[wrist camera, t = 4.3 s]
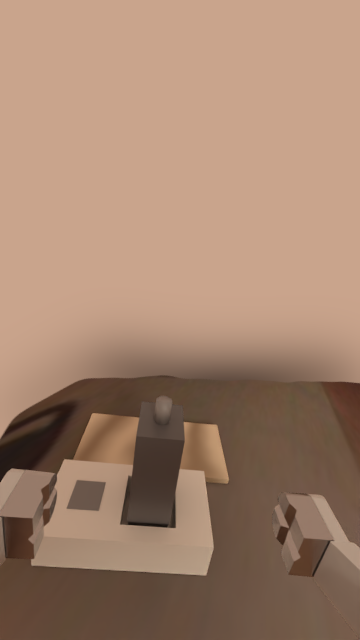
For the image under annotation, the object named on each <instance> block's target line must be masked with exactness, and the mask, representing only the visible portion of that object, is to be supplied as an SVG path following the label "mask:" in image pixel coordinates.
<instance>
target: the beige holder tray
mask: <svg viewBox="0 0 360 640" xmlns="http://www.w3.org/2000/svg"><path fill="white" fill-rule="evenodd" d="M132 470H133V465H126V464H114V463H102V462H90V461H78V460H66V459H64V461H63V463H62V466H61V468H60V470H59V472H58V474H57V482H56V484H55V488H56V490H57V499H56V504H55V508H54V511H53V514H52V517H51V519H50V522H49V523H48V524H46V525H45V526H44V537H43V539H42V541H41V544H40V546H39V549H38V551H37V553H36V556H35V558H34V559H31V565H32V566H48V567H66V568H83V569H101V570H119V571H136V572H154V573H172V574H189V575H206V574H207V571H208V567H209V563H210V560H211V556H212V552H213V548H214V545H213V537H212V529H211V521H210V514H209V506H208V498H207V490H206V482H205V474H204V471H197V470H185V469H180V470H179V476H178V481H177V486H176V492H175V497H174V503H173V508H172V514H171V519H170V525H169V524H168V526H167V528H164V527H150V526H135V525H128V522H127V516H128V507H129V498H130V489H131V479H132Z"/></svg>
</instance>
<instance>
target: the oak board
mask: <svg viewBox="0 0 360 640" xmlns="http://www.w3.org/2000/svg"><path fill="white" fill-rule="evenodd" d="M138 422H139V418H138V417H128V416H117V415H107V414H97V413H92V415H91V418H90V420H89V423H88V425H87V427H86V430H85V432H84V435H83V437H82V439H81V442H80V444H79V447H78V449H77V451H76V454H75V456H74V459H73V460H78V461H90V462H102V463H114V464H126V465H133V461H134V452H135V442H136V434H137V428H138ZM184 434H185V443H184V448H183V454H182V459H181V465H180V469H185V470H197V471H204V474H205V482H212V483H224V484H228V480H229V478H228V473H227V468H226V464H225V459H224V455H223V450H222V446H221V441H220V437H219V432H218V428H217V425H211V424H200V423H190V422H184Z"/></svg>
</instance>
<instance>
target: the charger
mask: <svg viewBox="0 0 360 640" xmlns="http://www.w3.org/2000/svg"><path fill="white" fill-rule="evenodd" d="M184 443H185V434H184V417H183V405H173V404H172V399H171V398H169V397H167V396H160V397H158V398H157V399H156V403H153V402H143V401H142V405H141V410H140V416H139V422H138V428H137V434H136V442H135V452H134V461H133V470H132V479H131V489H130V498H129V507H128V516H127V522H128V525H135V526H150V527H164V528H167V526H168V524H169V525H170V519H171V514H172V508H173V503H174V497H175V492H176V486H177V481H178V476H179V470H180V465H181V459H182V454H183V448H184Z"/></svg>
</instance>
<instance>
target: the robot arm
mask: <svg viewBox="0 0 360 640" xmlns="http://www.w3.org/2000/svg"><path fill="white" fill-rule="evenodd" d="M56 482H57V474H56V473H49V472H40V471H31V470H21V469H11V470H10V471H8V472H7V473H6V475H5V476H4V478H3V479H2V481H1V482H0V565H1V564H2V563H3V562H4V561H5V560H6V558H17V559H34V558H35V556H36V553H37V551H38V549H39V546H40V544H41V541H42V539H43V537H44V526H45V525H46V524H48V523H49V522H50V519H51V517H52V514H53V511H54V508H55V504H56V499H57V490H56V488H55V484H56ZM278 502H279V505H277V506H276V507H275V508H274V511H273V514H272V524H273V530H274V533H275V536H276V538H277V540H278V541H279V542H280V543H281V544H282V545H283V546H282V550H281V554H282V557H283V560H284V563H285V566H286V569H287V572H288V575H296V576H307V577H313V580H314V581H315V582H316V584H317V585H318V586H319V588H320V589H321V590H322V591H323V593H324V594H325V595H326V597H327V598H328V599H329V601H330V602H331V603H332V604H333V606H334V607H335V608H336V610H337V611H338V612H339V614H340V615H341V616H342V617H343V619H344V620H345V621H346V623H347V624H348V625H349V626H350V628H351V629H352V630H353V632H354V633H355V634H356V636H357V637H358V638H359V639H360V548H359V547H358V546H357V545H356V544H354V543H351V542H349V540H348V539H347V537H346V535H345V533H344V532H343V530H342V528H341V526H340V525H339V523H338V521H337V519H336V517H335V516H334V514H333V512H332V510H331V509H330V507H329V505H328V503H327V501H326V500H325V498H324V497H323V496H322V495H313V494H304V493H290V492H281V493H280V494H279V497H278Z"/></svg>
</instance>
